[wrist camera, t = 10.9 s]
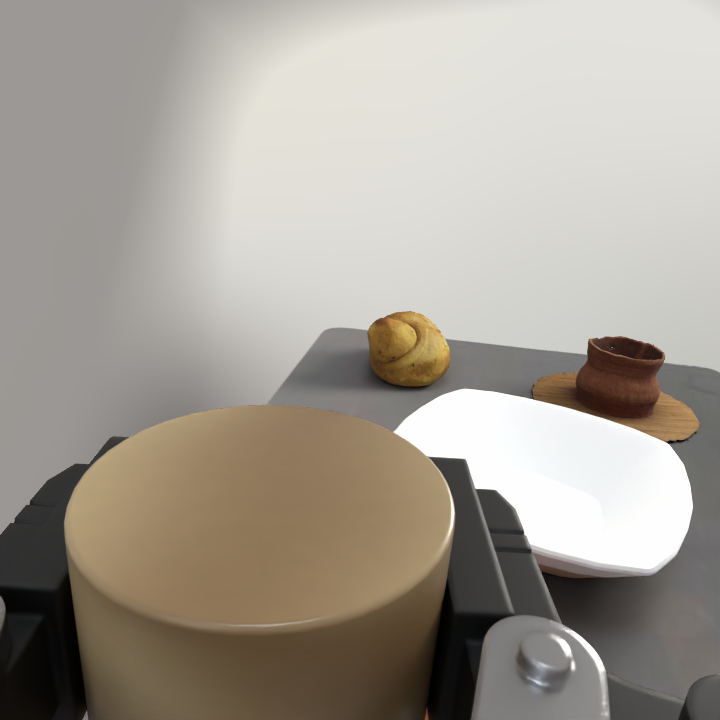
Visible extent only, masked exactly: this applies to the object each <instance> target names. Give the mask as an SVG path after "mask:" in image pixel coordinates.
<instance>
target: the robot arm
mask: <svg viewBox="0 0 720 720" xmlns="http://www.w3.org/2000/svg"><path fill="white" fill-rule="evenodd" d="M128 438H129V437H111V438H110V439H109V440H108V441H107V442H106V444H105V445H104V446H103V447H102V449H101V450H100V451H99V453H98V454H97V455H96V456H95V457H94V459H93V460H92V461H91V462H90V464H74V465H73V466H71V467H69V468H68V469H66V470H64V471H63V472H61V473H59V474H58V475H56V476H54V477H53V478H51V479H49V480H48V481H47V482H46V483H45V484H44V485H43V487H42V488H41V489H40V490H39V491H38V492H37V494H36V495H35V496H34V497H33V498H32V499H31V500H30V505H26V506H25V507H24V508H23V510H22V511H21V512H20V513H19V514H18V515H17V516H16V518H15V522H14V523H10V524H9V526H8V527H7V528H6V529H5V530H4V531H3V533H2V534H1V535H0V720H82V719H83V717H84V715H85V713H86V711H87V705H86V697H85V690H84V682H83V675H82V667H81V659H80V652H79V644H78V637H77V629H76V621H75V614H74V606H73V598H72V591H71V583H70V576H69V568H68V560H67V553H66V545H65V535H64V520H65V514H66V508H67V505H68V503H69V500H70V498H71V496H72V493H73V491H74V488H75V487H76V485H77V484H78V482H79V481H80V479H81V478H82V476H83V475H84V474H85V472H86V471H87V470H88V469H89V468H90V467H91V466H92V465H93V464H94V463H95V462H96V461H97V460H98V459H99V458H100V457H102V456H103V455H104V454H105V453H106V452H108V451H109V450H110V449H112V448H113V447H115V446H116V445H118V444H119V443H121V442H122V441H124V440H126V439H128ZM427 457H429V458H430V459H431V460H432V462H433V463H434V464H435V465H436V466H437V468H438V469H439V470H440V471H441V473H442V475H443V477H444V478H445V480H446V482H447V484H448V486H449V489H450V492H451V495H452V498H453V501H454V508H455V515H456V516H455V528H454V535H453V542H452V548H451V555H450V561H449V568H448V574H447V581H446V587H445V594H444V600H443V607H442V613H441V620H440V626H439V633H438V639H437V645H436V652H435V658H434V665H433V671H432V678H431V684H430V691H429V697H428V704H427V714H428V720H720V675H711V676H706V677H703V678H700V679H699V680H697V681H696V682H694V683H693V685H692V686H691V687H690V689H689V691H688V694H687V696H686V699H685V700H682V699H679V698H676V697H673V696H670V695H667V694H664V693H660V692H657V691H654V690H651V689H648V688H645V687H642V686H639V685H636V684H633V683H630V682H627V681H625V680H622V679H620V678H618V677H616V676H614V675H612V674H610V673H608V672H606V671H605V668H604V666H603V663H602V661H601V659H600V658H599V656H598V654H597V653H596V652H595V651H594V649H593V648H592V647H591V646H590V645H589V644H588V643H587V642H586V641H585V640H584V639H583V638H582V637H581V636H579V635H578V634H577V633H575V632H574V631H572V630H571V629H569V628H567V627H566V626H564V625H562V623H561V621H560V618H559V616H558V613H557V611H556V608H555V606H554V603H553V601H552V598H551V596H550V593H549V591H548V588H547V586H546V583H545V581H544V578H543V576H542V573H541V571H540V568H539V566H538V563H537V561H536V558H535V556H534V554H532V548H531V546H530V543H529V541H528V538H527V536H526V535H524V528H523V526H522V523H521V521H520V519H519V516H518V514H517V511H516V509H515V508H514V507H513V506H512V505H511V504H510V503H509V502H508V501H507V500H506V499H505V498H504V497H503V496H502V495H501V494H500V493H499V492H498V491H497V490H492V489H475V485H474V482H473V479H472V476H471V473H470V469H469V466H468V463H467V461H466V459H462V458H446V457H430V456H427Z"/></svg>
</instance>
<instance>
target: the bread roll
mask: <svg viewBox="0 0 720 720" xmlns="http://www.w3.org/2000/svg"><path fill="white" fill-rule="evenodd" d="M368 340H369V349H370V364H371V367H372V369H373V371H374V372H375V373H376V375H377V376H378V377H379V378H381V379H383V380H385V381H386V382H388V383H391V384H394V385H401V386H426V385H430V384H432V383H434V382H436V381H437V380H438V379H439V378H441V377H442V376H443V375H444V374H445V373H446V371H447V369H448V367H449V364H450V352H449V346H448V344H447V342H446V340H445V338H444V337H443V335H442V334H441V332H440V330H438V328H437V327H436V325H435V324H433V323H432V322H431V321H430V320H429V319H427V318H426V317H425V316H423V315H421V314H418V313H415V312H411V311H409V312H396V313H393V314H391V315H388V316H386V317H385V318H380V319H378V320H376V321H375V322H374V323H373V324H372V325H371V326H370V328H369V330H368Z"/></svg>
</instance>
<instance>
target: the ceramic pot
mask: <svg viewBox="0 0 720 720" xmlns="http://www.w3.org/2000/svg"><path fill="white" fill-rule="evenodd" d="M611 347H613V348H611ZM587 354H588V360H587V362H586V363H585V365H584V366H583V367H582V368H581V369H580V371H579V372H573V373H568V374H567V373H562V374H560V373H558V374H552V375H550V376H547V377H542V378H540V379H539V382H536V383H535V384H534V388H532V390H533V391H532V392H533V399H536V400H537V401H541V402H545V403H549V404H554V405H558V406H562V407H566V408H569V409H572V410H576V411H579V412H583V413H586V414H590V415H593V416H596V417H600V418H603V419H606V420H609V421H612V422H615V423H618V424H621V425H624V426H627V427H630V428H633V429H635V430H638V431H640V432H642V433H645V434H647V435H649V436H652V437H654V438H656V439H659V440H661V441H666V442H668V441H669V440H672V441H676V439H677V440H684V439H686V438H689V437H690V435H692V434H693V433H694V432H695V431H698V426H699V425H700V424H699V423H698V421H699V420H698V419H696V415H695V414H694V413H693V412H692V410H691V409H690V408H689V407H687V406H686V405H685V404H684V403H682V402H680V401H677V400H675V399H674V398H673V397H671V396H669V395H668V396H667V395H666V394H665V393H663V392H661V391H660V390H659V384H658V381H657V379H656V373H657V372H658V370H659V369H660V367H661V366H662V364H663V362H664V360H665V354H664V352H662V351H661V350H660V349H659V348H657V347H655V346H654V345H651V344H649V343H643V342H641V341H636V340H633V339H630V338H627V337H622V336H619V337H604V338H601V339H598V338H595V339H589V341H588V350H587Z"/></svg>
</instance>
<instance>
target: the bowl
mask: <svg viewBox="0 0 720 720" xmlns="http://www.w3.org/2000/svg"><path fill="white" fill-rule="evenodd" d="M394 433H395V434H397V435H399V436H401V437H402V438H404V439H406V440H407V441H409V442H410V443H412V444H413V445H414V446H416V447H417V448H419V449H420V450H421V451H422V452H423V453H424V454H425V455H426V456H430V457H446V458H462V459H466V461H467V463H468V466H469V469H470V473H471V476H472V479H473V482H474V485H475V489H492V490H497V491H498V492H499V493H500V494H501V495H502V496H503V497H504V498H505V499H506V500H507V501H508V502H509V503H510V504H511V505H512V506H513V507H514V508H515V509H516V511H517V514H518V516H519V519H520V521H521V523H522V526H523V528H524V535H526V536H527V538H528V541H529V543H530V546H531V548H532V554H534V556H535V558H536V561H537V563H538V566H539V568H540V571H541V572H545V573H548V574H552V575H556V576H561V577H569V578H593V577H629V576H650V575H653V574H655V573H657V572H658V571H659V570H660V569H661V568H663V567H664V566H665V565H666V564H667V563H669V562H670V561H671V560H672V559H673V558H675V557H676V555H677V553H678V551H679V549H680V547H681V544H682V542H683V540H684V538H685V536H686V533H687V531H688V527H689V523H690V518H691V514H692V509H693V505H692V496H691V488H690V483H689V480H688V477H687V474H686V471H685V467H684V464H683V463H682V462H681V460H680V459H679V457H678V456H677V455H676V453H675V452H674V451H673V449H672V448H671V447H670V445H669V444H667V443H665V442H663V441H661V440H659V439H656V438H654V437H652V436H649V435H647V434H645V433H642V432H640V431H638V430H635V429H633V428H630V427H627V426H624V425H621V424H618V423H615V422H612V421H609V420H606V419H603V418H600V417H596V416H593V415H590V414H586V413H583V412H579V411H576V410H572V409H569V408H566V407H562V406H558V405H554V404H549V403H545V402H541V401H536V400H532V399H528V398H523V397H518V396H513V395H508V394H502V393H497V392H490V391H481V390H472V389H460V390H457V391H454V392H451V393H448V394H444V395H441V396H440V397H438V398H436V399H434V400H433V401H431V402H429V403H427V404H426V405H424V406H422V407H421V408H419V409H418V410H417V411H415V412H414V413H413V414H411V415H410V416H409V417H407V418H406V419H404V421H403V422H402V423H401V424H400V425H399V426H398V427H397V429H396V430H395V431H394Z"/></svg>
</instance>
